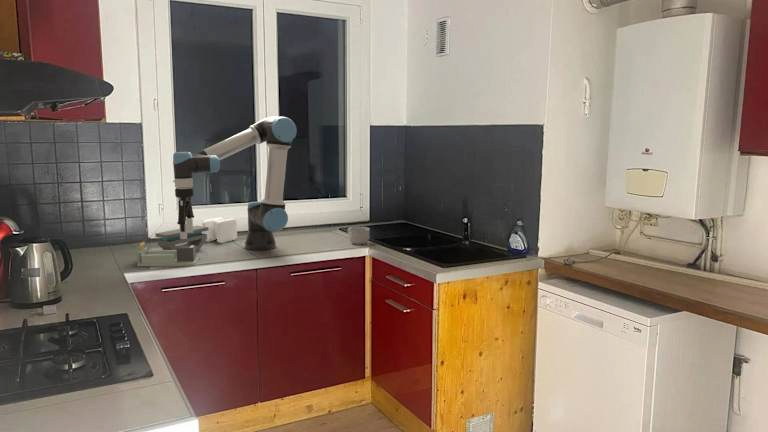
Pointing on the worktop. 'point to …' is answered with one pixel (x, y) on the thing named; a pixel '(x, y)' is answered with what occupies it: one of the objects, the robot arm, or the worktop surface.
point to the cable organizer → (221, 229)
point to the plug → (186, 253)
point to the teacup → (358, 235)
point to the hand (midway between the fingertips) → (187, 235)
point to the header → (160, 257)
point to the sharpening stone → (174, 238)
